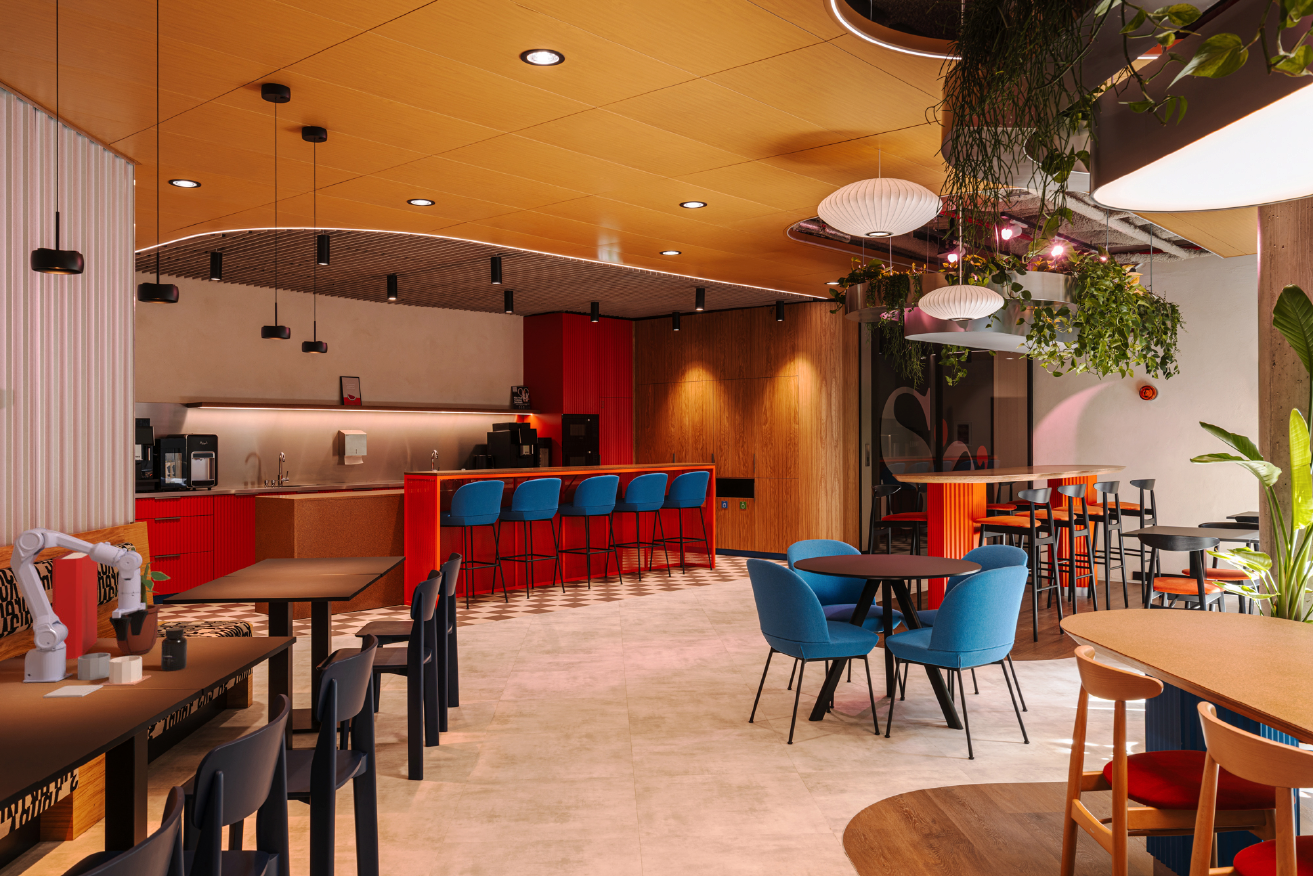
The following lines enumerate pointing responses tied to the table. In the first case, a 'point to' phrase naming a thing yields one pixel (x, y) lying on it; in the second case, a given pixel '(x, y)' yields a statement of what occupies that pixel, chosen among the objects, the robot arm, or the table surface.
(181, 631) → the supplement bottle
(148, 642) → the potted plant
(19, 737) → the table surface
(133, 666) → the tube
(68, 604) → the book
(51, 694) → the ball mat
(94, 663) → the grey faceted cup
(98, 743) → the table surface
